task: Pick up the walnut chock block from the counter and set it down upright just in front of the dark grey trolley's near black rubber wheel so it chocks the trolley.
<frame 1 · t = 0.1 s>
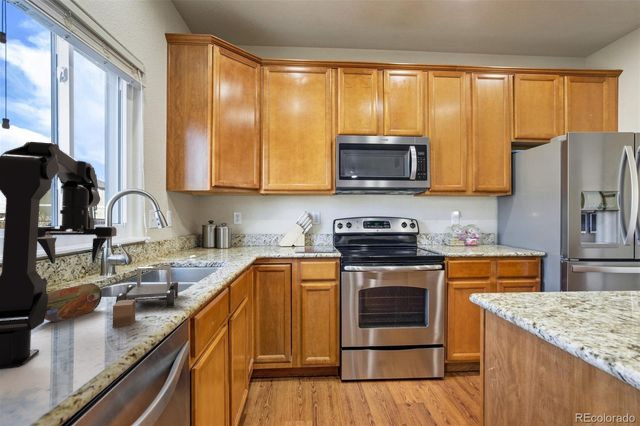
hand: (73, 262, 84), 15 cm above the worktop, fingers open, 9 cm apart
chock: (124, 323, 79), on the worktop
trolley: (150, 302, 98), on the worktop
tin: (71, 317, 84), on the worktop
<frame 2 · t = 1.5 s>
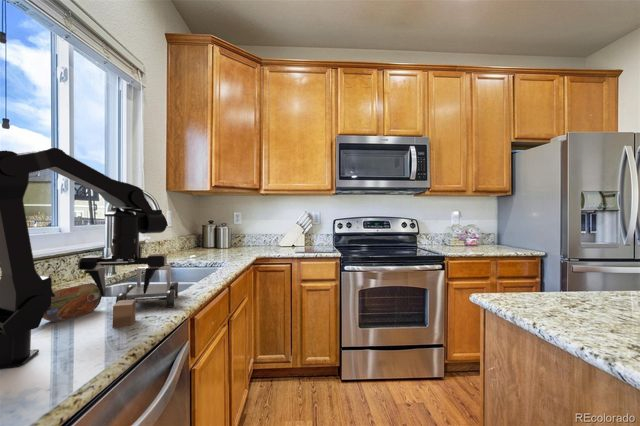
hand: (124, 294, 79), 7 cm above the worktop, fingers open, 9 cm apart
nothing on the worktop moved.
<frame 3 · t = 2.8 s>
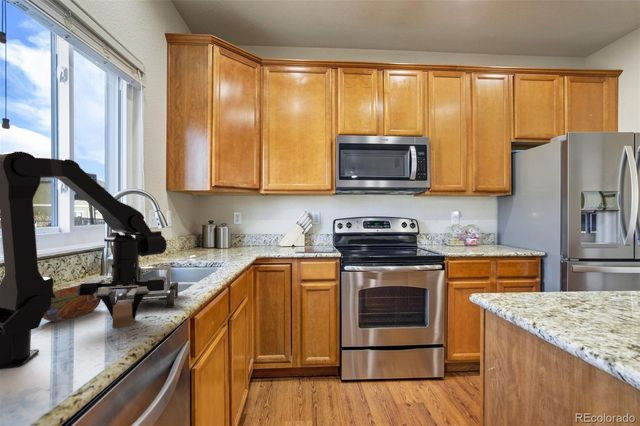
hand: (124, 318, 79), 1 cm above the worktop, fingers closed on chock, 4 cm apart
chock: (124, 323, 79), on the worktop, touching gripper
everything else where it was.
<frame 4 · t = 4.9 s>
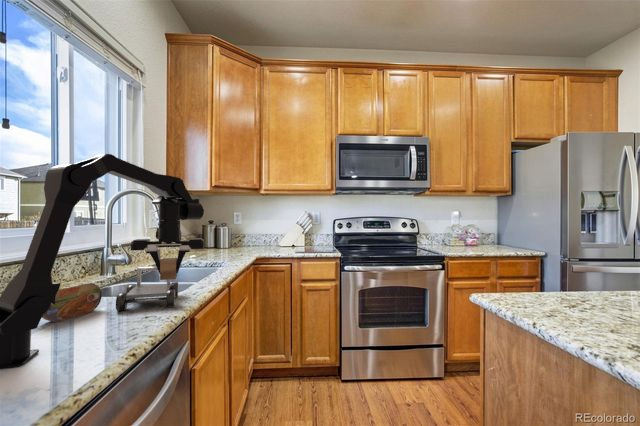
hand: (168, 273, 89), 11 cm above the worktop, fingers closed on chock, 4 cm apart
chock: (168, 277, 89), point 10 cm above the worktop, touching gripper
everything else where it was.
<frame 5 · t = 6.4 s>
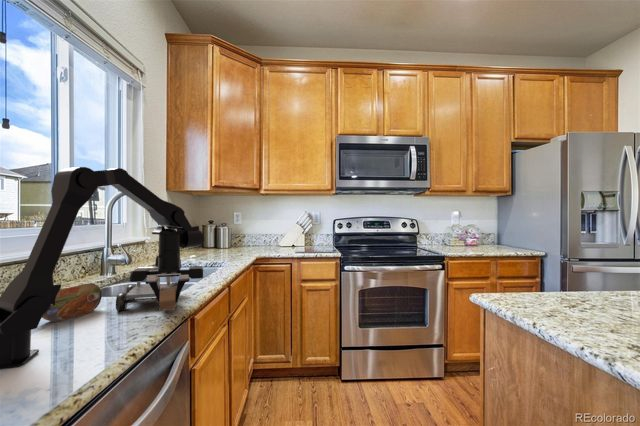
hand: (168, 303, 89), 3 cm above the worktop, fingers closed on chock, 4 cm apart
chock: (168, 307, 89), point 1 cm above the worktop, touching gripper
everything else where it was.
when the fingers open (2 cm above the worktop, at t = 7.2 s): chock drops 1 cm, on the worktop.
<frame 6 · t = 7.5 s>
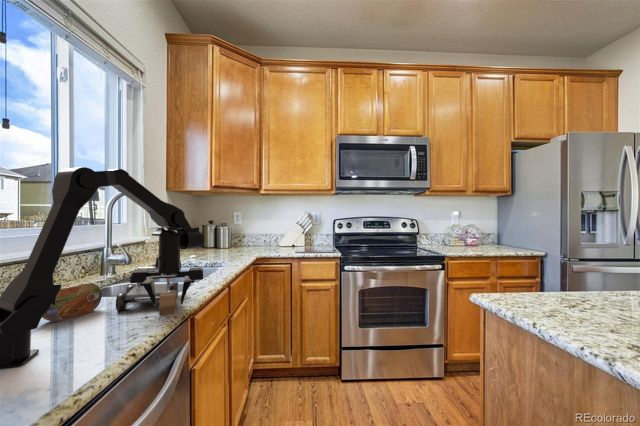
hand: (168, 304, 89), 2 cm above the worktop, fingers open, 7 cm apart
chock: (168, 312, 89), on the worktop
everything else where it was.
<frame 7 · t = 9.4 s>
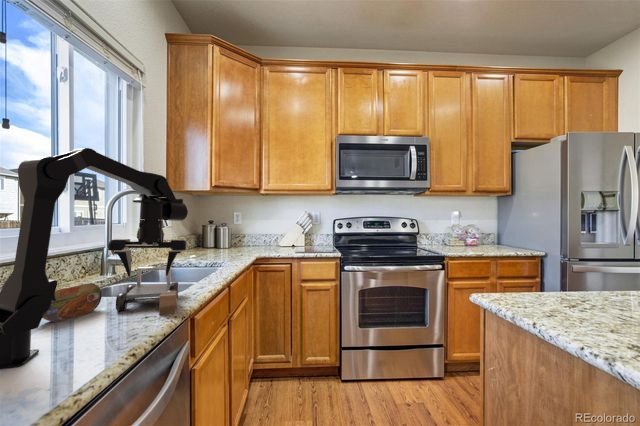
hand: (148, 275, 85), 11 cm above the worktop, fingers open, 9 cm apart
nothing on the worktop moved.
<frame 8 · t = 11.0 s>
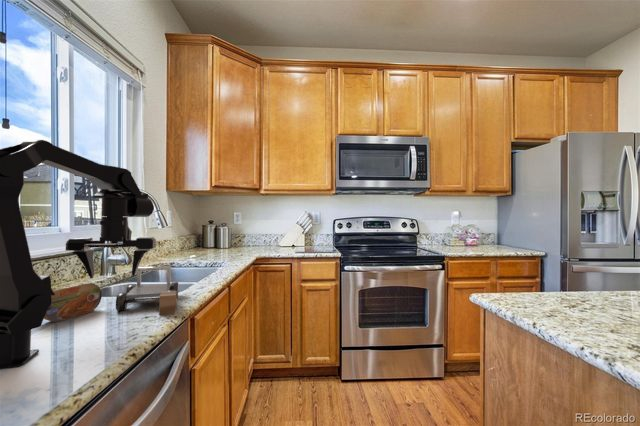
hand: (113, 276, 79), 12 cm above the worktop, fingers open, 9 cm apart
nothing on the worktop moved.
at the end: chock 0.5 cm from the target spot on the worktop beside the trolley, on the worktop; chock tilted 0°; the gripper is holding nothing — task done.
